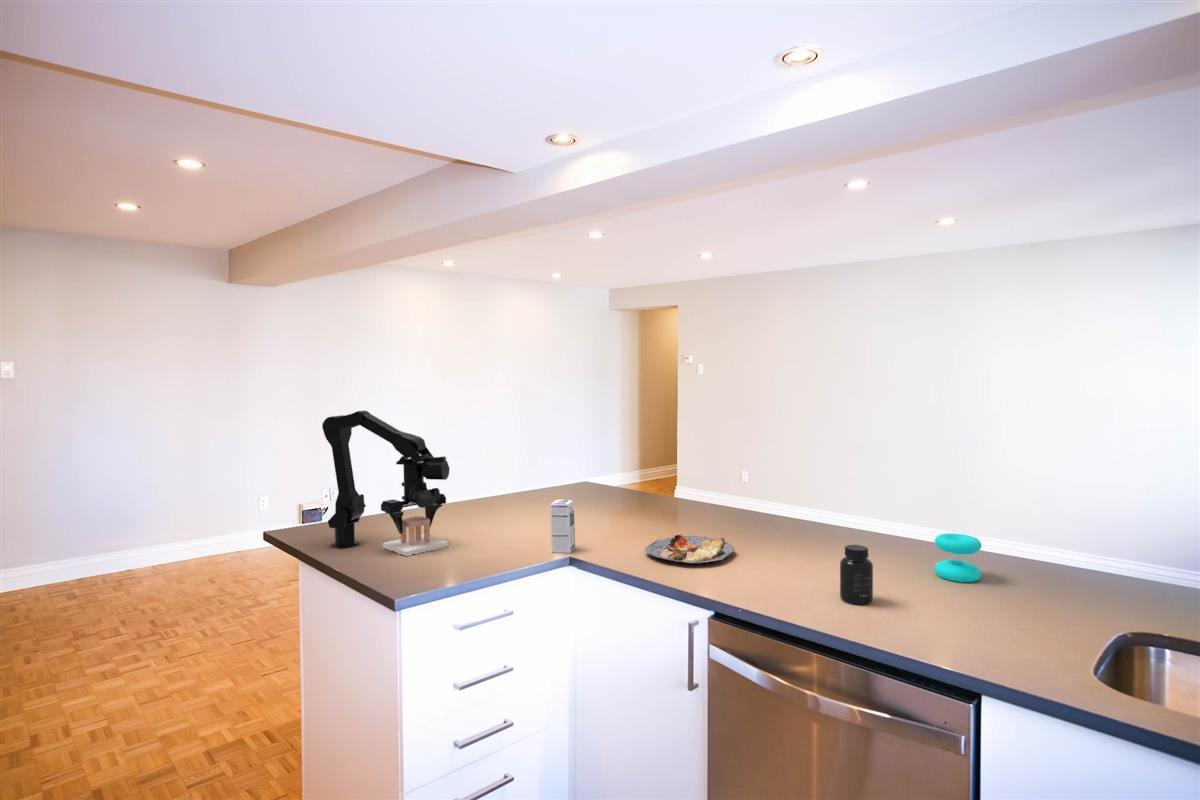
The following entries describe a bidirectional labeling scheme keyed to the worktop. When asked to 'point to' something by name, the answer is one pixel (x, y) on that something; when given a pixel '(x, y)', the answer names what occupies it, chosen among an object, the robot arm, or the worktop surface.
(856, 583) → the supplement bottle
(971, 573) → the donuts
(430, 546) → the white board
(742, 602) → the worktop surface
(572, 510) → the syrup box
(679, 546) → the food plate
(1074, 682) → the worktop surface
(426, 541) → the stool
